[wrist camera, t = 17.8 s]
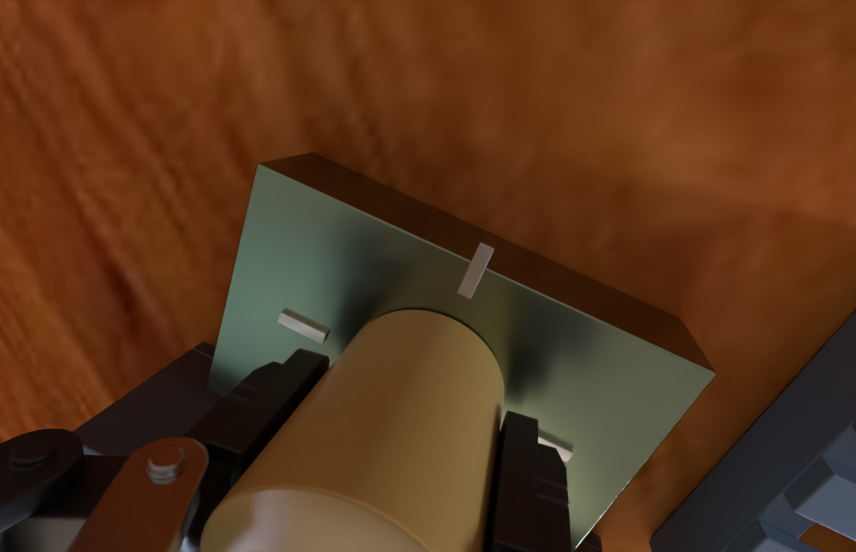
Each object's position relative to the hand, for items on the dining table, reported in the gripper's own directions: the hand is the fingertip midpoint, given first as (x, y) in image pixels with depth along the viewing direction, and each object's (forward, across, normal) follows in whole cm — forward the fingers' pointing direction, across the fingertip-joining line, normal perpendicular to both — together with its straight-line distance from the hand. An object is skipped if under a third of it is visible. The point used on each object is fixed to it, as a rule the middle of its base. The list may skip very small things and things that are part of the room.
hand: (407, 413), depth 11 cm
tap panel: (+4, 0, 0) cm, 4 cm away
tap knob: (+1, 0, 0) cm, 1 cm away
